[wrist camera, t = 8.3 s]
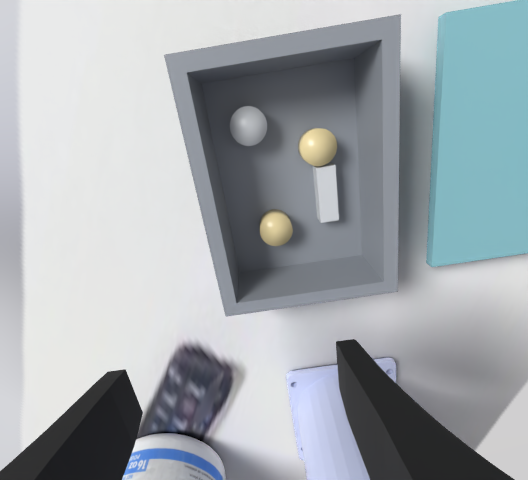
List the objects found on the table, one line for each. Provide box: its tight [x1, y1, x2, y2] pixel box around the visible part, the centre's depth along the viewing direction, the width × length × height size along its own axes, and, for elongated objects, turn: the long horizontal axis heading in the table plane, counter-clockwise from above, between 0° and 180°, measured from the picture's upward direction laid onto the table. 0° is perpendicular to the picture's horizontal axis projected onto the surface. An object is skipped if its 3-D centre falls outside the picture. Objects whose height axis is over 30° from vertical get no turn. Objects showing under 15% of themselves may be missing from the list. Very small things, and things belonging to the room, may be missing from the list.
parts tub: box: [164, 14, 401, 316], centre depth 15 cm, size 12×9×4 cm
